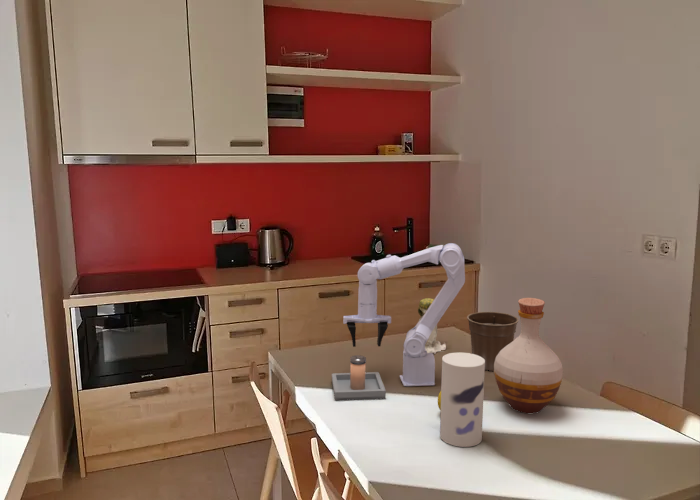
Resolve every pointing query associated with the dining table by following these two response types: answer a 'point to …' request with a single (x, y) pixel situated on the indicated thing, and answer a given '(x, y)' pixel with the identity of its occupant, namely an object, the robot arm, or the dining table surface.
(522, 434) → the dining table surface
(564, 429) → the dining table surface
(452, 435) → the container
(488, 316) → the plant pot
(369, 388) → the tray
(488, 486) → the dining table surface
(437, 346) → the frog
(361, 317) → the robot arm
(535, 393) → the jug
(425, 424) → the dining table surface
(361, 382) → the shaker
